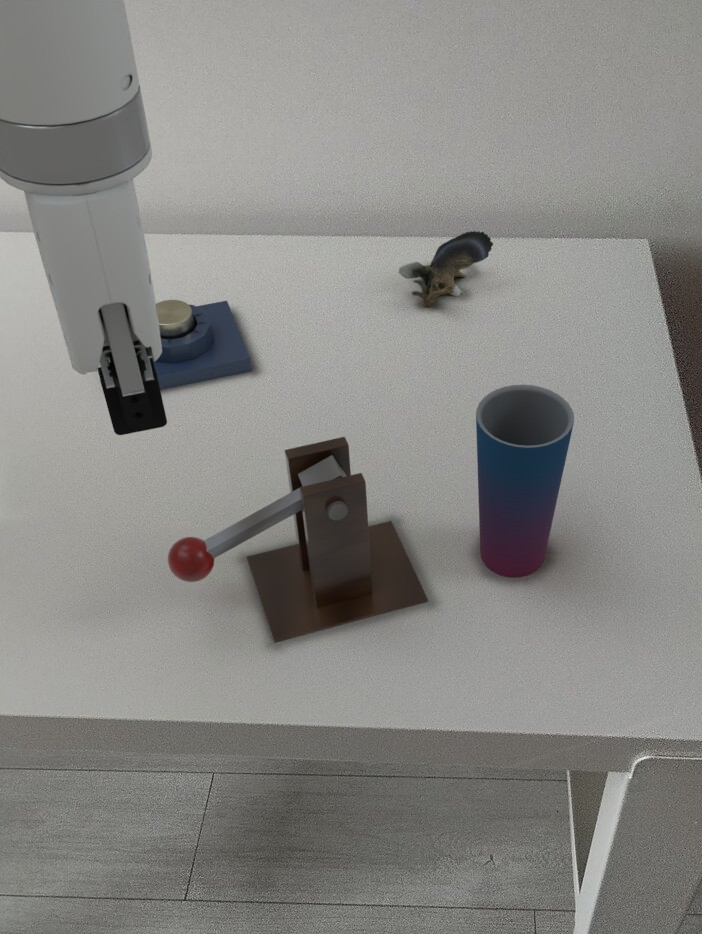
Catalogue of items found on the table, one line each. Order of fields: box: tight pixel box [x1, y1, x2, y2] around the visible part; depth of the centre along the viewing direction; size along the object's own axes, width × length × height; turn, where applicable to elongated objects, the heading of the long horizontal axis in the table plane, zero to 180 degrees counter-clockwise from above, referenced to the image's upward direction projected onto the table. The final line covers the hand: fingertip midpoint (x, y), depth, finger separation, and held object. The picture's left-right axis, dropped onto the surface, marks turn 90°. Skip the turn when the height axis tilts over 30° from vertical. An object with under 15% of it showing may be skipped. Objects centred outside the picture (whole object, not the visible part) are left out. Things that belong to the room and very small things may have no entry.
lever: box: [167, 455, 346, 583], centre depth 73 cm, size 14×3×3 cm, turn 111°
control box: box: [137, 300, 253, 391], centre depth 98 cm, size 12×10×4 cm
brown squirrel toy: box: [398, 230, 494, 308], centre depth 106 cm, size 8×7×9 cm
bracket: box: [245, 436, 429, 644], centre depth 77 cm, size 12×9×13 cm
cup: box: [475, 384, 575, 578], centre depth 78 cm, size 7×7×15 cm
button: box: [156, 299, 195, 340], centre depth 97 cm, size 4×4×2 cm
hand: (139, 422), depth 64 cm, fingers closed
